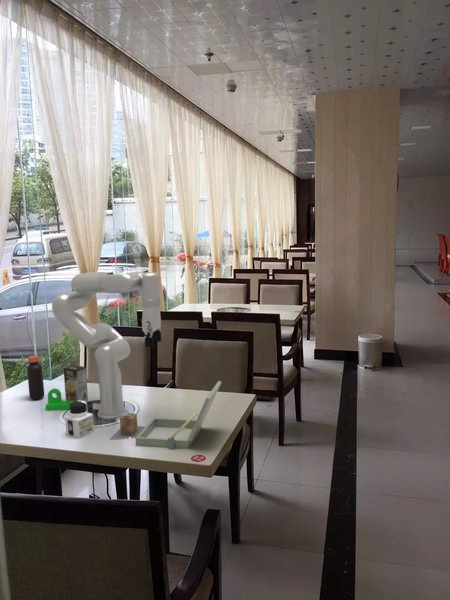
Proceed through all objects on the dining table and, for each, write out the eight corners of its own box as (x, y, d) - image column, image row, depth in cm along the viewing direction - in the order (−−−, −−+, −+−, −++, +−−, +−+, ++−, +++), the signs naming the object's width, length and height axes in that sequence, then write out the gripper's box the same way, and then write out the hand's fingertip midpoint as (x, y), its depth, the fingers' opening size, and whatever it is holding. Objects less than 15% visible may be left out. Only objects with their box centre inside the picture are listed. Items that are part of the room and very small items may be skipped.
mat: (108, 440, 201) (108, 439, 201) (123, 426, 214) (123, 425, 214) (136, 442, 198) (136, 441, 198) (148, 427, 212) (148, 426, 212)
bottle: (41, 399, 251) (38, 358, 248) (27, 399, 251) (23, 358, 248) (46, 394, 257) (43, 354, 254) (32, 394, 257) (29, 355, 254)
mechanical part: (45, 410, 237) (44, 392, 235) (50, 405, 242) (48, 388, 241) (72, 409, 236) (70, 392, 235) (76, 404, 242) (74, 387, 241)
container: (79, 439, 203) (77, 407, 201) (66, 435, 207) (63, 403, 205) (94, 432, 209) (92, 400, 207) (80, 428, 213) (78, 397, 211)
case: (134, 448, 193) (131, 395, 190) (154, 426, 214) (151, 378, 211) (210, 453, 187) (208, 399, 184) (223, 429, 208) (221, 380, 205)
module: (120, 435, 204) (119, 416, 203) (125, 430, 209) (124, 411, 208) (133, 435, 204) (131, 417, 202) (137, 430, 208) (136, 412, 207)
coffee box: (65, 400, 247) (62, 367, 245) (75, 396, 253) (73, 364, 250) (78, 404, 242) (76, 370, 240) (89, 399, 248) (86, 366, 245)
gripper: (149, 299, 222) (152, 339, 225) (134, 306, 205) (137, 349, 208) (166, 299, 221) (168, 339, 223) (152, 306, 204) (155, 349, 207)
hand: (153, 344), depth 216 cm, fingers open, 9 cm apart
